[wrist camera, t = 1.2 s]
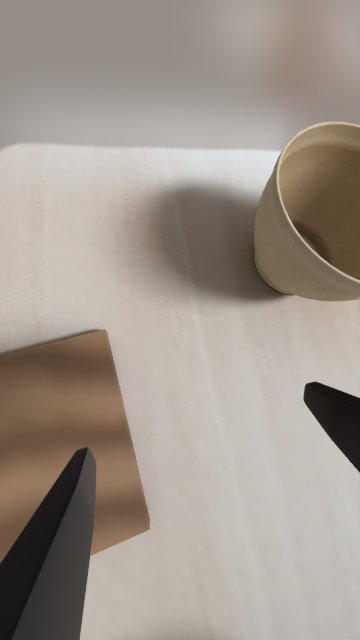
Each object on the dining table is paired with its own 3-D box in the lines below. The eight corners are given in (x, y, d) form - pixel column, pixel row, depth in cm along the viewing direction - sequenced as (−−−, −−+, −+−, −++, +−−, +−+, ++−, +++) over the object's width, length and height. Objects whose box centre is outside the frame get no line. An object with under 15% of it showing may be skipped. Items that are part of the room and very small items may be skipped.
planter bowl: (210, 289, 25) (251, 231, 15) (250, 192, 30) (303, 95, 19) (330, 343, 26) (453, 324, 15) (352, 240, 30) (459, 169, 20)
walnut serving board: (149, 519, 19) (149, 529, 18) (-25, 595, 16) (-39, 612, 15) (106, 331, 23) (104, 329, 21) (-43, 369, 20) (-55, 369, 19)
